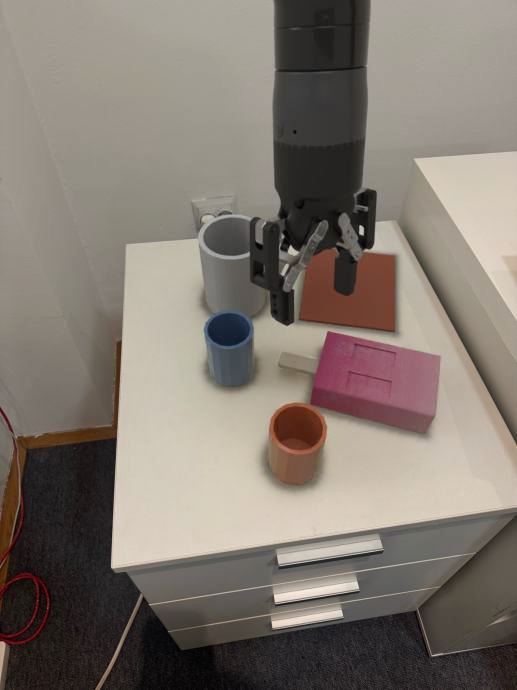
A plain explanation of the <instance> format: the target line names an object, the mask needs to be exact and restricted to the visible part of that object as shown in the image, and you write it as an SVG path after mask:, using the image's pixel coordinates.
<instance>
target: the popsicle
mask: <svg viewBox="0 0 517 690" xmlns="http://www.w3.org/2000/svg"><path fill="white" fill-rule="evenodd" d="M441 358H442V356H441V355H438V354H434V353H429V352H424V351H420V350H416V349H411V348H407V347H403V346H398V345H394V344H389V343H385V342H381V341H374V340H370V339H366V338H362V337H357V336H352V335H348V334H344V333H341V332H340V333H339V332H334V331H332V330H331V331H330V330H327V331H326V334H325V338H324V342H323V345H322V349H321V354H320V357H319V359H317V358H312V357H309V356H304V355H301V354H296V353H291V352H287V351H282V352H280V355H279V358H278V361H277V367H278V368H279V369H282V370H287V371H290V372H295V373H298V374H302V375H303V374H304V375H307V376H311V377H314V379H313V382H312V388H311V393H310V400H309V405H310V406H312V407H317V408H322V409H326V410H330V411H333V412H337V413H342V414H346V415H350V416H354V417H357V418H361V419H366V420H370V421H374V422H377V423H381V424H385V425H390V426H394V427H397V428H401V429H405V430H410V431H413V432H418V433H421V434H426V433H427V431H428V429H429V428H430V426H431V425H432V423H433V421H434V420H435V417H436V415H437V405H438V393H439V381H440V371H441V370H440V369H441V360H442V359H441Z"/></svg>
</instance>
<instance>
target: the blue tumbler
mask: <svg viewBox="0 0 517 690" xmlns="http://www.w3.org/2000/svg"><path fill="white" fill-rule="evenodd" d="M203 335H204V342H205V349H206V356H207V363H208V369H209V374H210V376H211V378H212V379H213V381H215V382H216V383H217V384H219V385H221V386H223V387H228V388H229V387H230V388H232V387H234V388H235V387H239V386H241V385H244V384H245V383H247V382H248V381H249V380H250V379H251V378H252V377H253V375H254V372H255V327H254V324H253V321H252V320H251V318H250V317H248V316H247V315H245V314H243V313H241V312H239V311H232V310H227V311H221V312H218V313H216V314H215V313H213V315H211V316H210V317H209V318H208V319H207V320H206V321H205V324H204V326H203Z"/></svg>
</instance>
